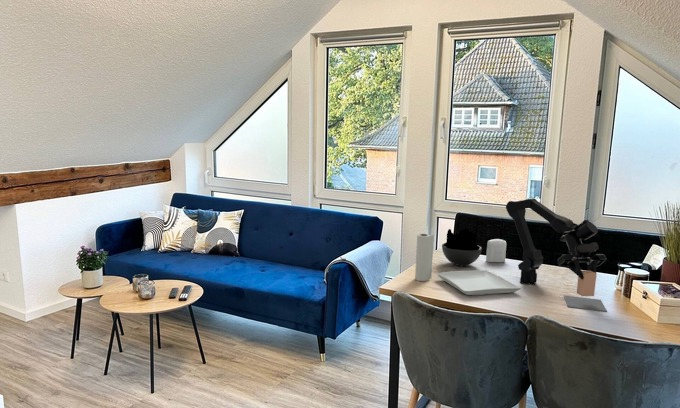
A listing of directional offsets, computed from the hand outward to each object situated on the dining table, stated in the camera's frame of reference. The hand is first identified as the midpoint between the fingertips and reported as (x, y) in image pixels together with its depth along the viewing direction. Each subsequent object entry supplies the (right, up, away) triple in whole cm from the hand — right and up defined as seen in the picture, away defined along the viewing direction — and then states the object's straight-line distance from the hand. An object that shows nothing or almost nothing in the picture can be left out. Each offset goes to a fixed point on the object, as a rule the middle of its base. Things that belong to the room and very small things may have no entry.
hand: (589, 278), depth 194 cm
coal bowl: (-37, -2, +57) cm, 68 cm away
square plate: (-39, -7, +22) cm, 46 cm away
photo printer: (-16, -1, +66) cm, 68 cm away
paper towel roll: (-62, -5, +30) cm, 69 cm away
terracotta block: (0, -7, +2) cm, 7 cm away
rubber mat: (0, -11, +3) cm, 11 cm away
